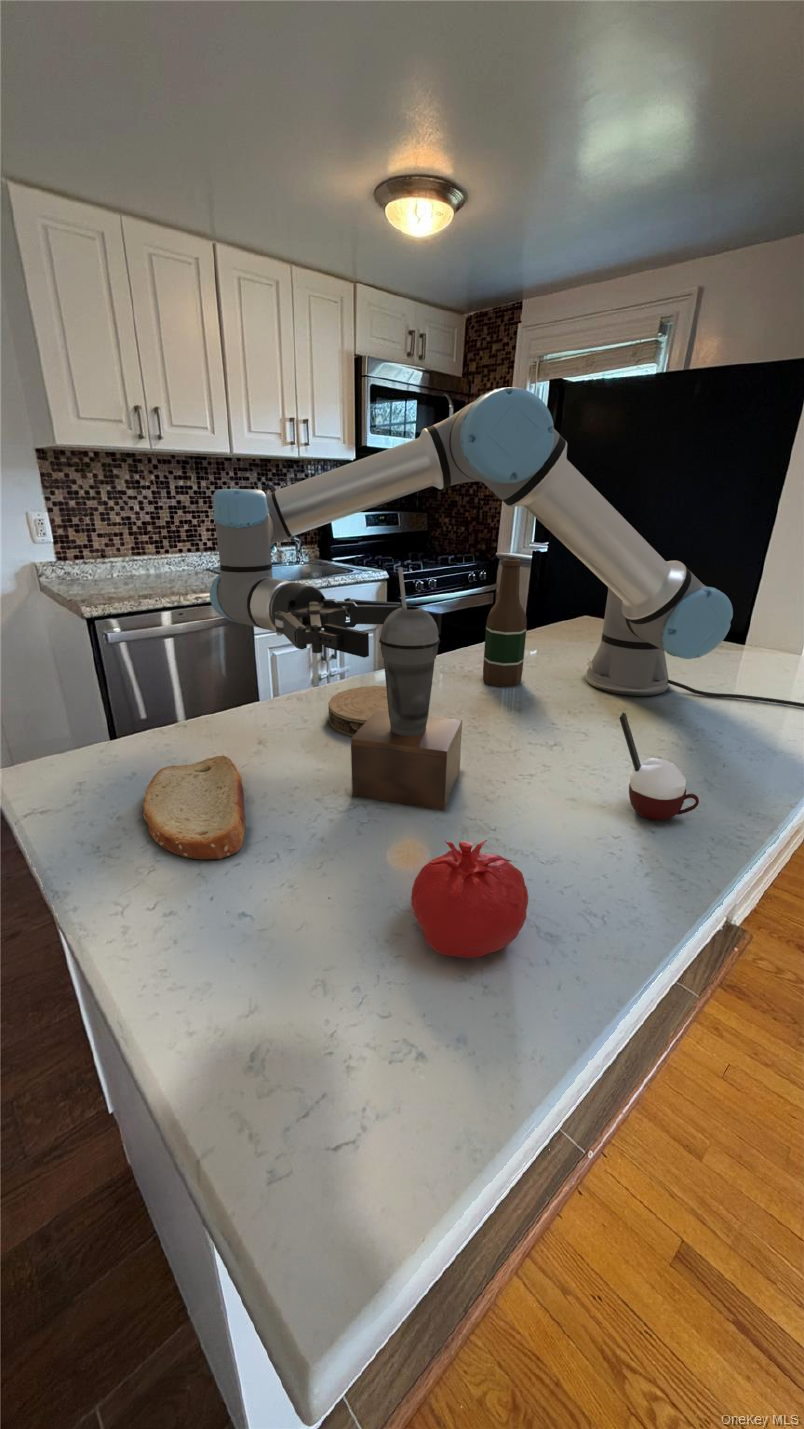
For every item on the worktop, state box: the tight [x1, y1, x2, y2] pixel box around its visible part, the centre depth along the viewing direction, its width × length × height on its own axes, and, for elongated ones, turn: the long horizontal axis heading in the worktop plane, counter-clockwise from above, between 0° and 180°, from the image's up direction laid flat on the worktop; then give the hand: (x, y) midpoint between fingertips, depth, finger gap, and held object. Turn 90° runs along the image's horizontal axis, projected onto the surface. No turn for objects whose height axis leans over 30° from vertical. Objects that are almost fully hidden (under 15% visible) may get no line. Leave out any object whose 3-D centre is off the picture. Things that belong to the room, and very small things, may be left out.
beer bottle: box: [482, 557, 528, 688], centre depth 110 cm, size 8×8×24 cm
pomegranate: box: [410, 839, 529, 959], centre depth 49 cm, size 10×10×9 cm
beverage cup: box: [378, 566, 441, 736], centre depth 68 cm, size 7×7×20 cm
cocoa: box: [618, 711, 700, 822], centre depth 67 cm, size 10×6×12 cm, turn 38°
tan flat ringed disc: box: [327, 685, 388, 737], centre depth 95 cm, size 16×16×3 cm
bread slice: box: [142, 754, 246, 860], centre depth 68 cm, size 18×18×4 cm
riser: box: [350, 710, 463, 811], centre depth 73 cm, size 12×10×8 cm
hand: (405, 634), depth 68 cm, fingers open, 13 cm apart
